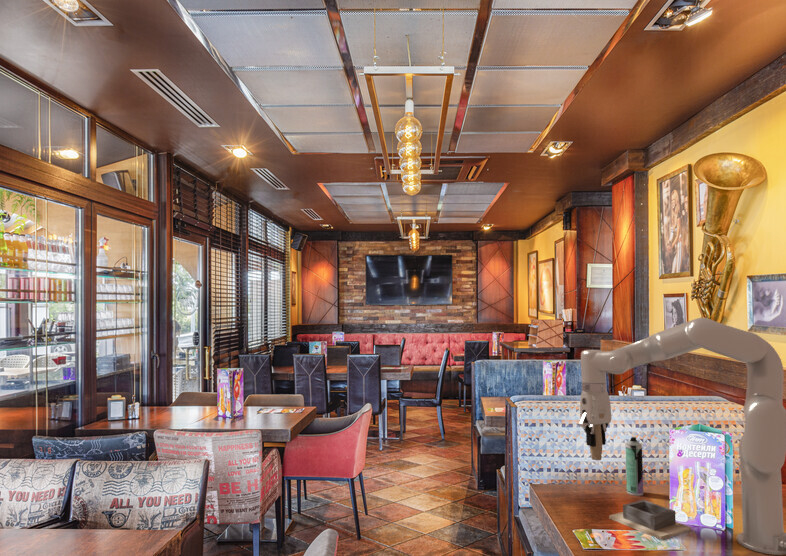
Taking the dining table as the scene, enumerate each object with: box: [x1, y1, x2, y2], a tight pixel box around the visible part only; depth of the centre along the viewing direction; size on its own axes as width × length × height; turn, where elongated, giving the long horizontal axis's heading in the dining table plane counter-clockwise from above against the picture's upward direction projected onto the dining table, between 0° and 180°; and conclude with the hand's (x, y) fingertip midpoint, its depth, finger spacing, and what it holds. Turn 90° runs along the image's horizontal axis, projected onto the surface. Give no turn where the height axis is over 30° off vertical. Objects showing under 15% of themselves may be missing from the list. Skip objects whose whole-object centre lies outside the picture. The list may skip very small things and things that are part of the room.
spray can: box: [625, 436, 644, 497], centre depth 194 cm, size 6×6×20 cm
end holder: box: [608, 499, 692, 541], centre depth 165 cm, size 18×14×5 cm
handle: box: [589, 414, 604, 461], centre depth 174 cm, size 5×6×15 cm
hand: (596, 444), depth 174 cm, fingers closed on handle, 4 cm apart
